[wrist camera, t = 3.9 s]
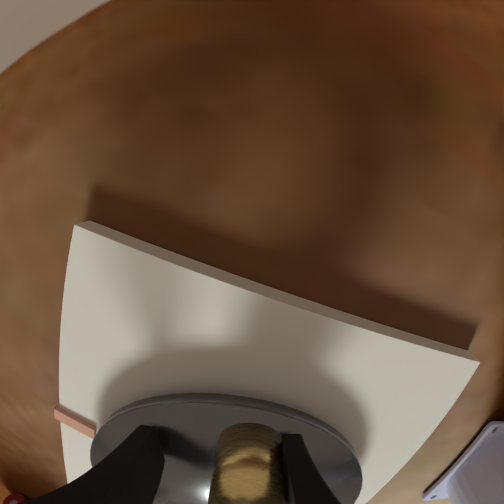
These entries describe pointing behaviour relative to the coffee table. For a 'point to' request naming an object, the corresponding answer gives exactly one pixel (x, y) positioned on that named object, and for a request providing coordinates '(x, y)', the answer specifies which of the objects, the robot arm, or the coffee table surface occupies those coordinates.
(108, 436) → the handwheel
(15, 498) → the toy fire truck
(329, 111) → the coffee table surface
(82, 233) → the wheel base
